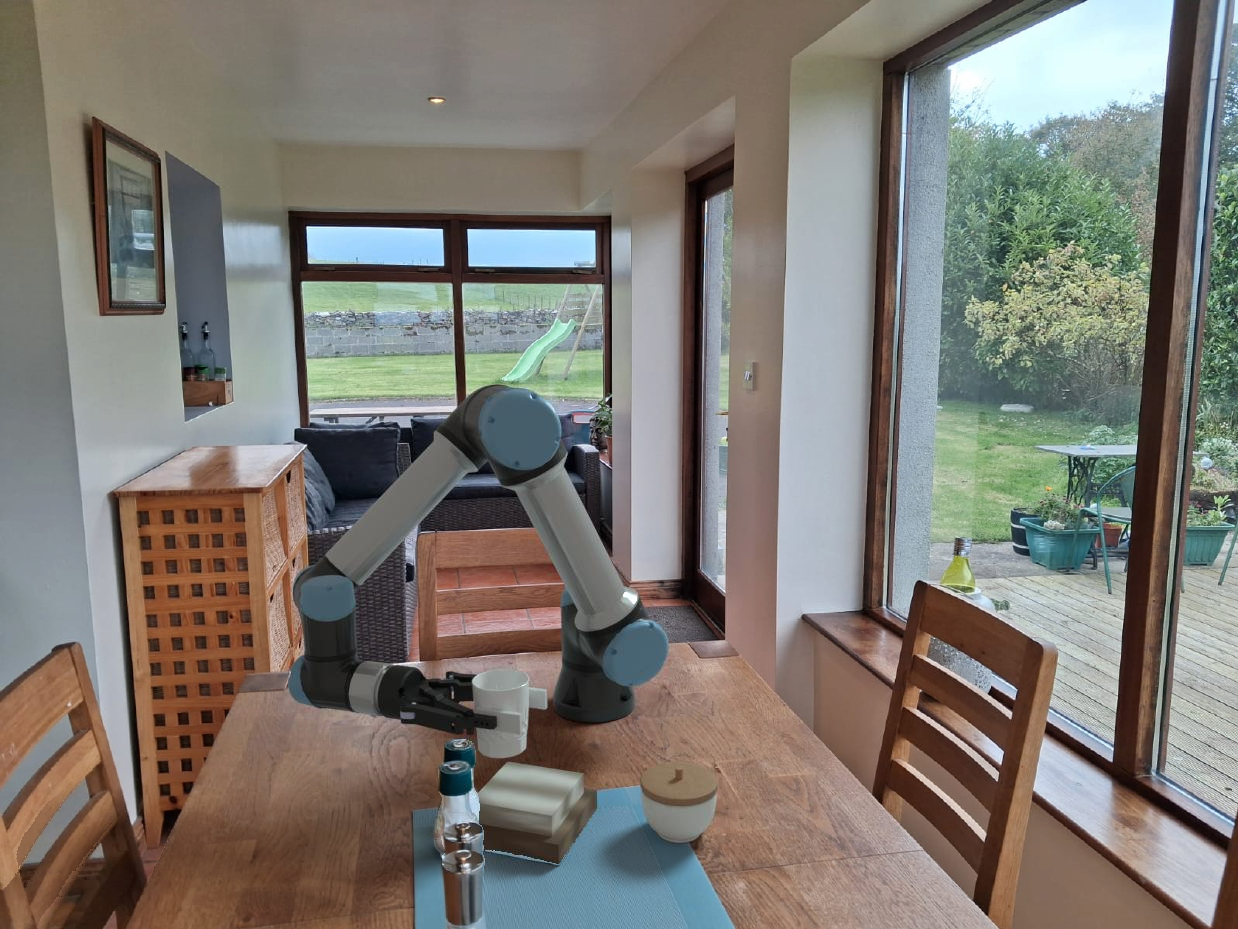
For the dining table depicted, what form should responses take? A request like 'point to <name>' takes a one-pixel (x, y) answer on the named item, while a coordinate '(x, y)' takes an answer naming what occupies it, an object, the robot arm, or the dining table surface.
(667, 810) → the lidded jar
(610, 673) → the robot arm
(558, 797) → the block stand
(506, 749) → the white cup
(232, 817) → the dining table surface
